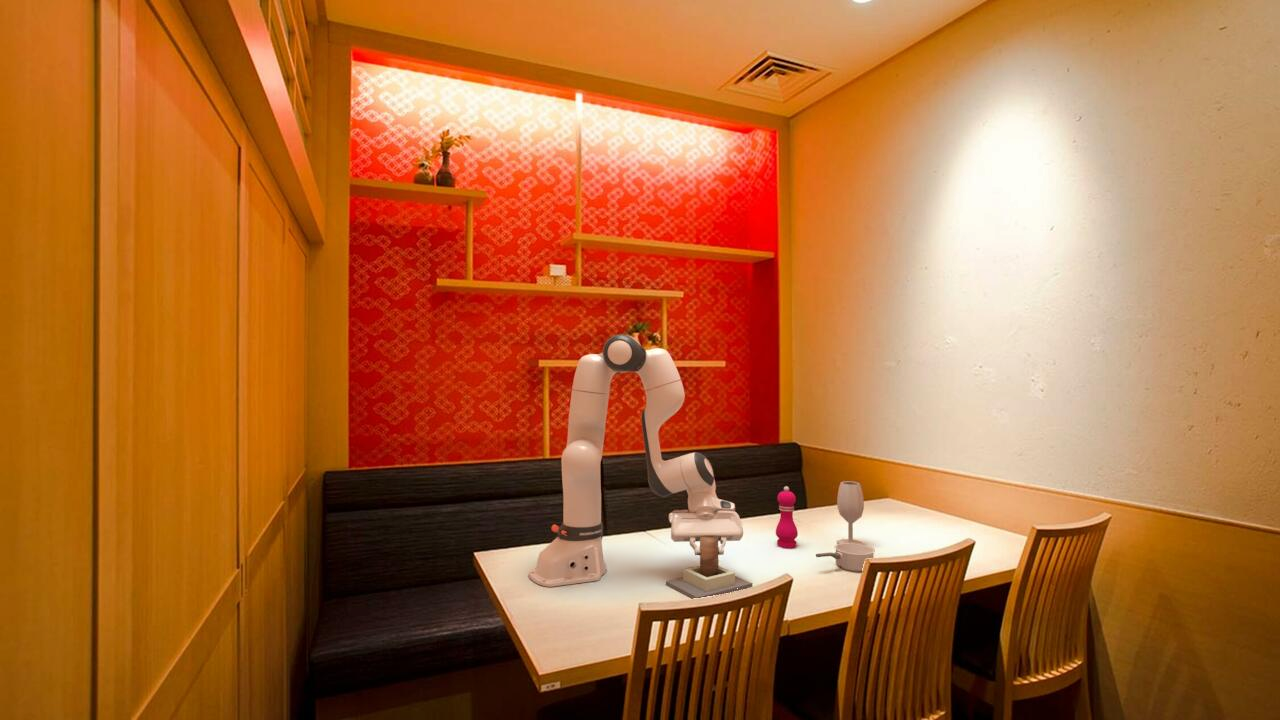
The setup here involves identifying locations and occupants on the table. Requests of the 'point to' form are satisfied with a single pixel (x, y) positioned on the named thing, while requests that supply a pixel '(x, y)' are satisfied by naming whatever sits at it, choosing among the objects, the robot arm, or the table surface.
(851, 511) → the wineglass
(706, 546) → the walnut peg
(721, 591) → the socket block
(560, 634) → the table surface
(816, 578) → the table surface
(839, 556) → the saucepan
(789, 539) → the pepper mill
